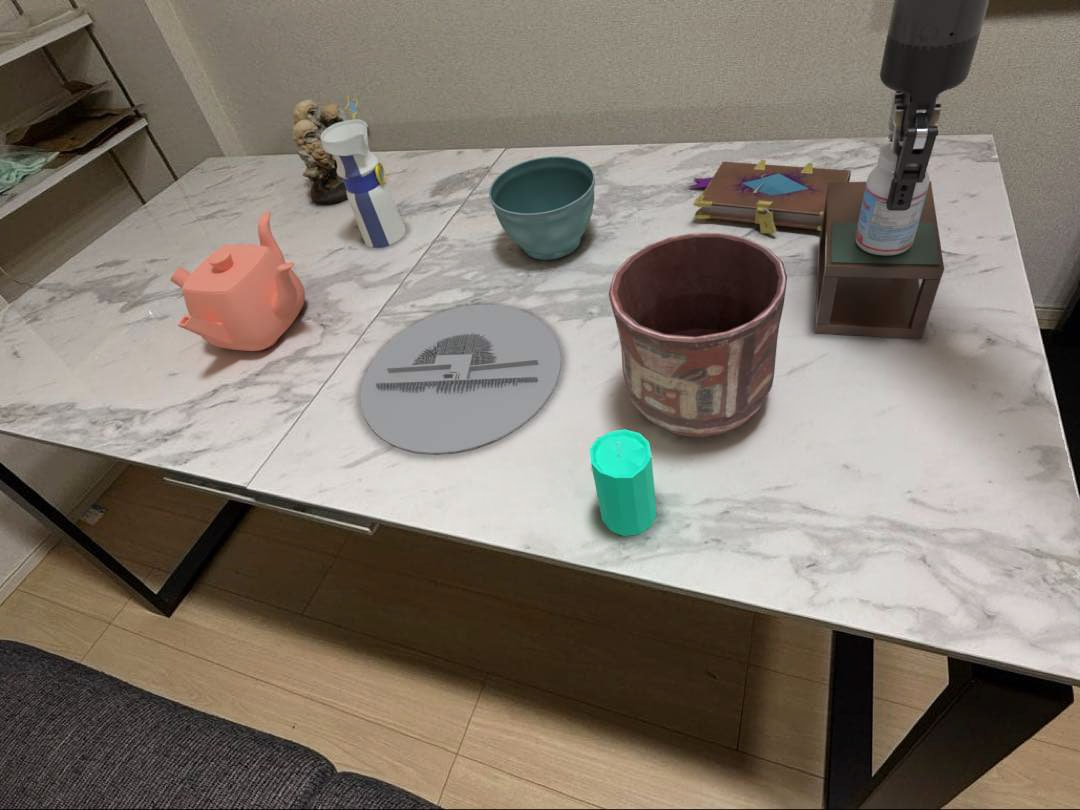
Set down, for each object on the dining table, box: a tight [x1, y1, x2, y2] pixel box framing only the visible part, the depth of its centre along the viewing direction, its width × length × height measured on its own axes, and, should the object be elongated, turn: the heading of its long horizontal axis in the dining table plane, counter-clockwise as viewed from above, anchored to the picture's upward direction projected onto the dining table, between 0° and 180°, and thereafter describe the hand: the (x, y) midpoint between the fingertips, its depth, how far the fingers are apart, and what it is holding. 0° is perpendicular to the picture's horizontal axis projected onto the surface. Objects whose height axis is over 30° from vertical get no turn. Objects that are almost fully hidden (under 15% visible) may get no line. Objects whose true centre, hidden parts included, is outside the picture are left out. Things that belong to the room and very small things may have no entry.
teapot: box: [170, 210, 306, 352], centre depth 102 cm, size 18×18×14 cm
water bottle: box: [321, 95, 407, 249], centre depth 110 cm, size 8×9×25 cm
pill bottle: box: [856, 141, 931, 256], centre depth 73 cm, size 6×6×11 cm
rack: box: [814, 180, 945, 340], centre depth 84 cm, size 12×18×11 cm, turn 163°
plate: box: [360, 304, 562, 455], centre depth 91 cm, size 28×28×1 cm
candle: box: [589, 428, 658, 537], centre depth 67 cm, size 6×6×12 cm
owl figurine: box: [292, 99, 350, 204], centre depth 129 cm, size 18×12×17 cm, turn 165°
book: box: [687, 159, 852, 234], centre depth 103 cm, size 16×25×5 cm, turn 63°
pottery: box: [608, 232, 788, 438], centre depth 74 cm, size 18×18×18 cm
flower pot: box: [488, 155, 596, 261], centre depth 104 cm, size 16×16×11 cm
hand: (895, 191), depth 72 cm, fingers closed on pill bottle, 6 cm apart
